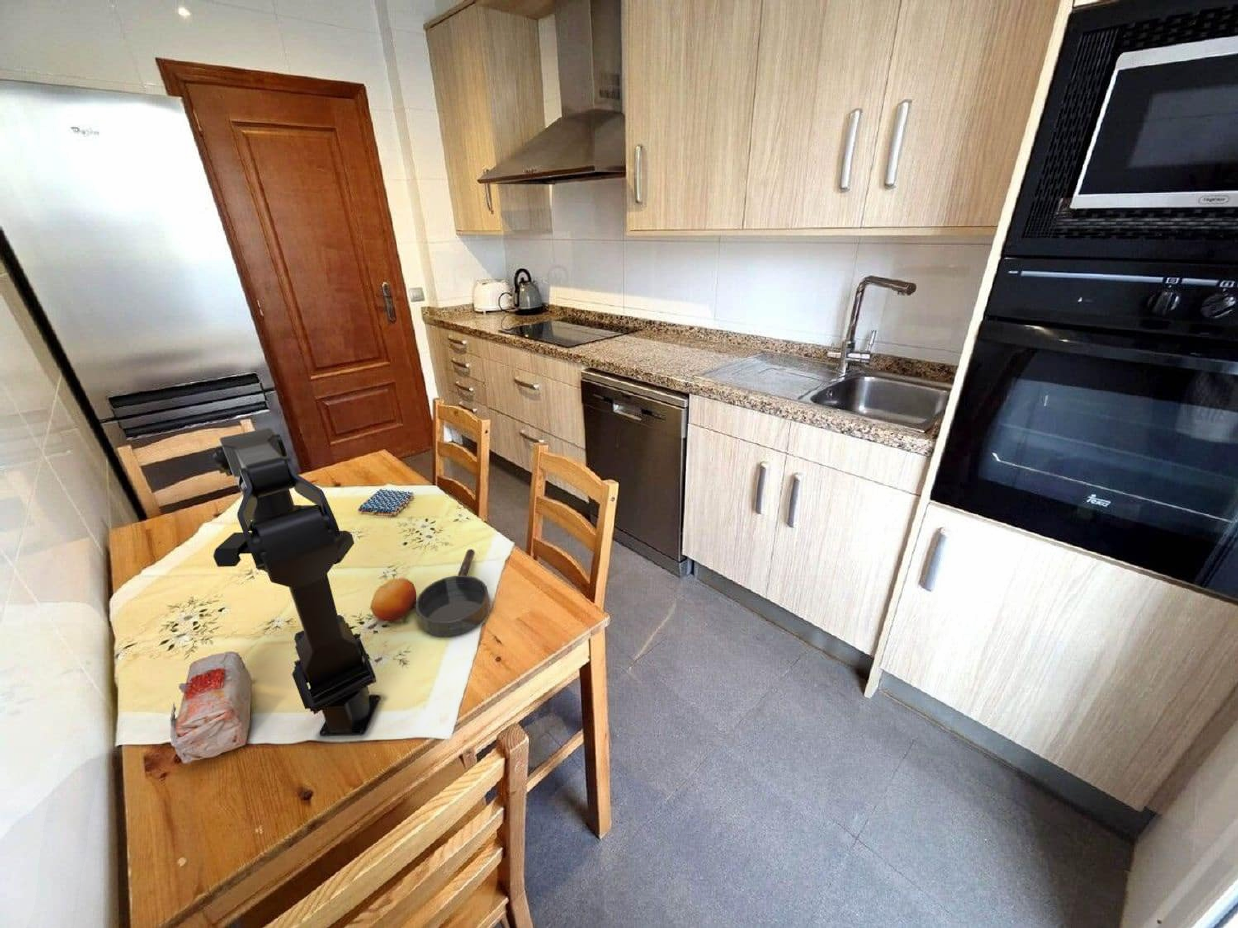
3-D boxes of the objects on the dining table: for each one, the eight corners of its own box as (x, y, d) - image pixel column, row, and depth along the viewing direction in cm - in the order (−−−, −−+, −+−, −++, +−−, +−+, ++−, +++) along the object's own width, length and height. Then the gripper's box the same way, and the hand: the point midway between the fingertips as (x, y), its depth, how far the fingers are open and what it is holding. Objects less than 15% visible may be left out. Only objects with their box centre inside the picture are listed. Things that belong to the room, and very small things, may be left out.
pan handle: (465, 583, 100) (464, 576, 100) (456, 583, 100) (455, 576, 100) (476, 554, 109) (475, 547, 108) (467, 554, 109) (466, 547, 108)
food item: (255, 748, 71) (231, 700, 67) (184, 777, 67) (154, 729, 63) (257, 679, 81) (237, 634, 77) (196, 701, 78) (171, 655, 73)
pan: (482, 636, 90) (480, 621, 89) (409, 638, 90) (405, 623, 88) (495, 588, 102) (493, 574, 100) (430, 589, 101) (427, 576, 100)
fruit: (411, 627, 90) (383, 593, 88) (382, 637, 93) (355, 605, 91) (435, 597, 97) (410, 565, 95) (408, 607, 100) (383, 577, 98)
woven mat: (416, 497, 134) (415, 490, 133) (395, 518, 125) (393, 511, 124) (380, 493, 136) (379, 487, 135) (356, 514, 126) (355, 507, 125)
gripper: (357, 483, 84) (376, 558, 91) (242, 484, 83) (270, 560, 90) (325, 519, 74) (349, 601, 81) (194, 521, 73) (230, 603, 80)
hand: (300, 589), depth 83 cm, fingers closed
